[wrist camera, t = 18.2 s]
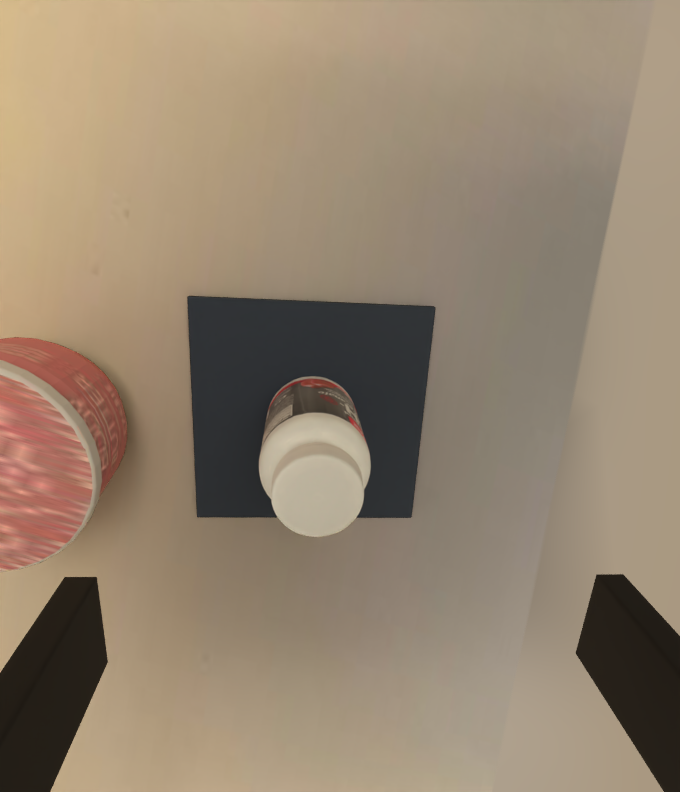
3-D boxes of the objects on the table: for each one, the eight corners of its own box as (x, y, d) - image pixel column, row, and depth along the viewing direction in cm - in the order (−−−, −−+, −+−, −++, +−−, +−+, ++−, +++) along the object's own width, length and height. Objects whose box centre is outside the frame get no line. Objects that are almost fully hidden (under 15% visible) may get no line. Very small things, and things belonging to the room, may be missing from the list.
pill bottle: (372, 401, 30) (405, 478, 21) (326, 470, 31) (338, 571, 22) (295, 357, 29) (294, 417, 20) (250, 430, 30) (229, 520, 21)
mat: (434, 306, 29) (435, 307, 29) (410, 514, 33) (411, 518, 33) (188, 295, 28) (187, 296, 27) (198, 514, 32) (196, 517, 32)
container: (-25, 292, 27) (-152, 318, 19) (168, 360, 29) (121, 407, 21) (-56, 458, 30) (-178, 538, 22) (121, 509, 32) (66, 598, 24)
